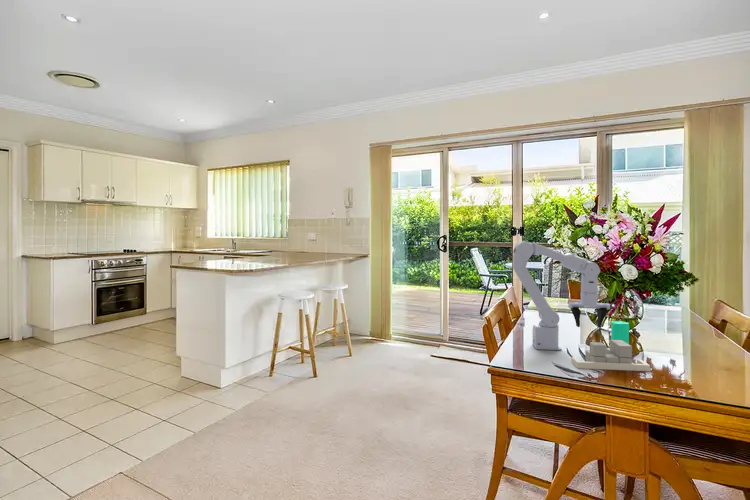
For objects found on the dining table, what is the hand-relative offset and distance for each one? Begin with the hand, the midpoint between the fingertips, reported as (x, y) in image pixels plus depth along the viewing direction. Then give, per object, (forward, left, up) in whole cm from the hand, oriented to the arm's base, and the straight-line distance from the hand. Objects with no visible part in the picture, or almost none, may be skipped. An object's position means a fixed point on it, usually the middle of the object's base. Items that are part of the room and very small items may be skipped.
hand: (588, 326), depth 155 cm
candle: (+13, +3, -9) cm, 16 cm away
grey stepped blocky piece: (+1, -16, -9) cm, 18 cm away
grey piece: (0, -20, -9) cm, 22 cm away
